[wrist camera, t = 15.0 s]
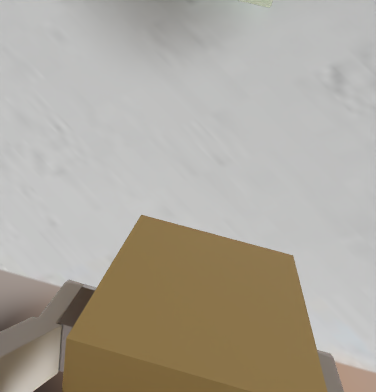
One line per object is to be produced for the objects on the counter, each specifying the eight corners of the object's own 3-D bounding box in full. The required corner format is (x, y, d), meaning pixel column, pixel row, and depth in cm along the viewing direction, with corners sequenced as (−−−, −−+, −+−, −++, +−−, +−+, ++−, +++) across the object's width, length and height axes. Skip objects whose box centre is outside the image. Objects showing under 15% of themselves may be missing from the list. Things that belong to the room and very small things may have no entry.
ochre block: (292, 255, 10) (333, 415, 6) (247, 360, 12) (250, 537, 8) (141, 214, 11) (66, 338, 6) (121, 324, 13) (55, 476, 8)
